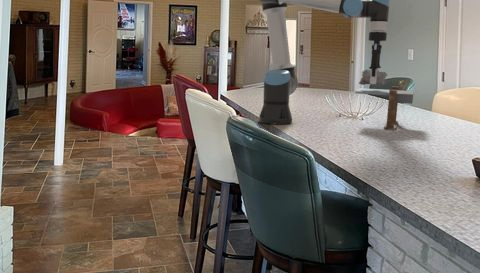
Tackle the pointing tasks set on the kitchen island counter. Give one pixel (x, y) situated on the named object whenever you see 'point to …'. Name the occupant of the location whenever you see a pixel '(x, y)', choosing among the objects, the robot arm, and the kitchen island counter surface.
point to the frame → (392, 110)
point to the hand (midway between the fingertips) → (373, 83)
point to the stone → (366, 78)
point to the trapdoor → (401, 95)
